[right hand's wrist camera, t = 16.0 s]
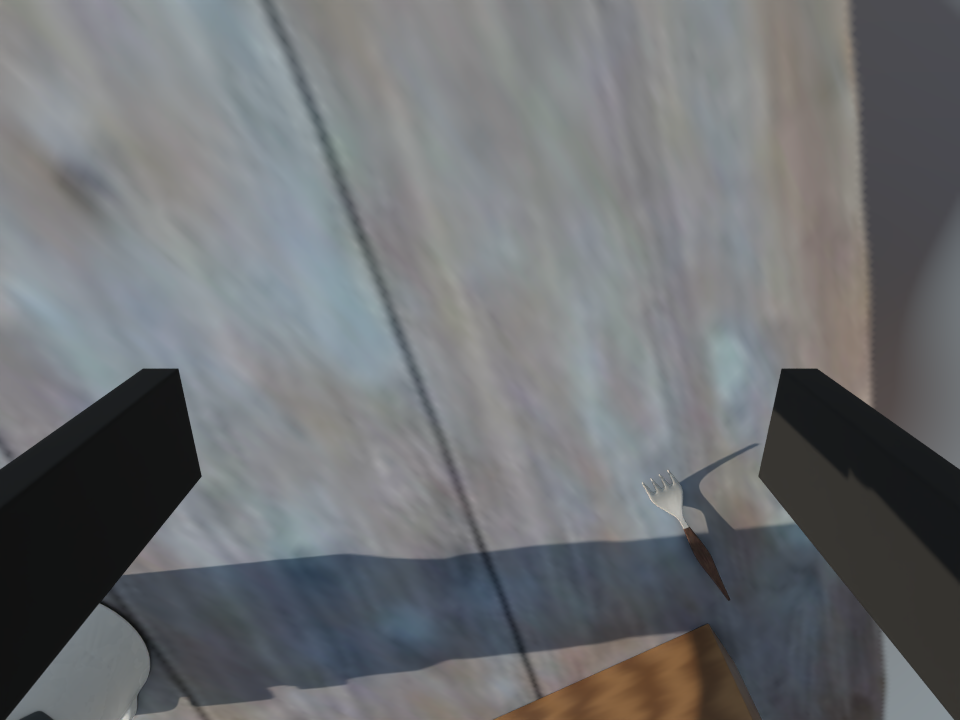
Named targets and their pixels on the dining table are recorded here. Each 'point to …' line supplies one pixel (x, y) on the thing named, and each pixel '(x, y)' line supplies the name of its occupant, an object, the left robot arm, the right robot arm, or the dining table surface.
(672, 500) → the fork
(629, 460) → the dining table surface
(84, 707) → the left robot arm
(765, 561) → the dining table surface
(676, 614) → the dining table surface
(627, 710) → the box
